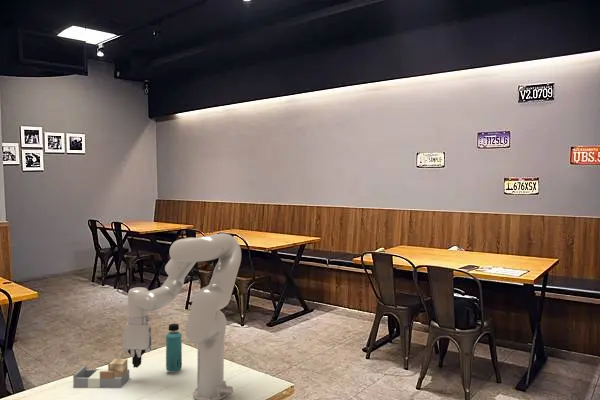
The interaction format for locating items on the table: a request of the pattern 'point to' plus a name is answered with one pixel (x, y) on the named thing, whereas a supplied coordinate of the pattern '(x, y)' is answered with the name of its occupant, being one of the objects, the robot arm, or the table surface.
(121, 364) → the maple block
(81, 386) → the grey open boxy piece
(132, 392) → the table surface
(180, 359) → the beverage bottle
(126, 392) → the table surface
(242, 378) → the table surface
